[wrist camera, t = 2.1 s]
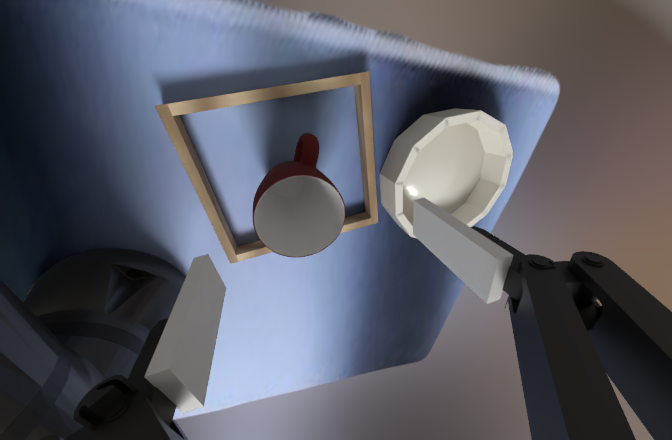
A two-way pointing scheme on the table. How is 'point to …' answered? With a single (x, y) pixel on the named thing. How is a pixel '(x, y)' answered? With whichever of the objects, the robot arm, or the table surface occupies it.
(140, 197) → the table surface
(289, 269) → the table surface
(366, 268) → the table surface
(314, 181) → the mug
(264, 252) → the frame tray
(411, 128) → the bowl
